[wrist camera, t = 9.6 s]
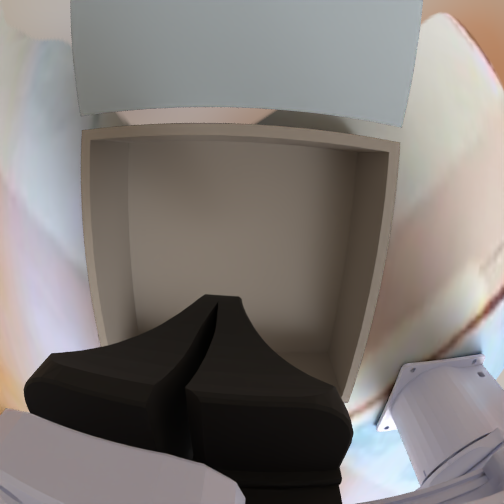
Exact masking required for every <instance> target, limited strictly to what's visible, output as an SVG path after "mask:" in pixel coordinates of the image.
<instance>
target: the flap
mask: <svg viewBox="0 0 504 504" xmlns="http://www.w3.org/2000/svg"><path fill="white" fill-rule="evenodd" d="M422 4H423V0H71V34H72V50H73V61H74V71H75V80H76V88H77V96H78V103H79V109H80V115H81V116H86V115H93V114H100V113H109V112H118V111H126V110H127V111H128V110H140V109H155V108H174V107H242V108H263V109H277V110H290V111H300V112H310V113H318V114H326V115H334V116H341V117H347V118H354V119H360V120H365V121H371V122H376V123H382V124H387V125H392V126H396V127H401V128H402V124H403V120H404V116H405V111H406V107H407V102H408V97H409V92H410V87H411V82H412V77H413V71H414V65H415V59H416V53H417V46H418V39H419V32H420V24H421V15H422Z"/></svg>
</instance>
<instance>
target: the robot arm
mask: <svg viewBox="0 0 504 504" xmlns="http://www.w3.org/2000/svg"><path fill="white" fill-rule="evenodd" d="M484 360H485V355H484V354H477V355H471V356H464V357H457V358H450V359H443V360H434V361H426V362H416V363H407V364H405V365H403V366H402V368H401V370H400V372H399V375H398V378H397V380H396V383H395V385H394V388H393V390H392V392H391V395H390V397H389V399H388V402H387V404H386V406H385V409H384V411H383V413H382V415H381V417H380V419H379V422H378V424H377V426H376V430H377V431H378V432H382V431H389V430H395V429H397V430H398V432H399V435H400V437H401V439H402V442H403V444H404V446H405V449H406V451H407V454H408V456H409V459H410V461H411V464H412V466H413V469H414V471H415V474H416V476H417V479H418V481H419V484H420V488H418V489H417V490H415V491H414V492H410V493H406V494H402V495H398V496H394V497H389V498H385V499H380V500H375V501H369V502H364V503H357V504H504V390H503V389H502V387H501V386H500V385H499V384H498V383H497V381H496V380H495V379H494V378H493V377H492V375H491V374H490V373H489V372H488V371H487V370H486V368H485V367H484V366H483V365H482V364H483V362H484ZM412 368H413V369H412ZM411 369H412V370H411ZM24 397H25V402H26V404H27V407H28V409H29V411H30V413H28V412H23V411H19V410H14V409H8V408H6V409H5V410H4V411H3V413H2V414H1V415H0V504H342V500H341V495H340V489H339V484H340V483H341V481H342V477H341V472H340V465H341V463H342V461H343V459H344V457H345V455H346V453H347V451H348V449H349V446H350V444H351V441H352V437H353V428H352V424H351V420H350V417H349V414H348V411H347V409H346V407H345V405H344V403H343V401H342V399H341V397H340V395H339V393H338V391H337V389H336V387H335V386H333V385H331V384H328V383H326V382H324V381H321V380H319V379H317V378H314V377H312V376H310V375H308V374H306V373H305V372H303V371H301V370H299V369H298V368H296V367H294V366H293V365H291V364H290V363H288V362H287V361H286V360H284V359H283V358H282V357H281V356H279V355H278V354H277V353H276V352H274V351H273V350H272V349H271V348H270V347H269V346H268V344H267V343H266V342H265V341H264V340H263V339H262V337H261V336H260V335H259V333H258V332H257V331H256V329H255V328H254V326H253V325H252V323H251V321H250V319H249V318H248V316H247V314H246V312H245V309H244V307H243V304H242V299H241V298H240V297H239V296H225V295H211V294H204V295H203V296H202V297H200V298H199V299H198V300H196V301H195V302H194V303H192V304H191V305H190V306H188V307H187V308H186V309H184V310H183V311H181V312H180V313H179V314H177V315H175V316H174V317H172V318H171V319H169V320H167V321H166V322H164V323H163V324H161V325H159V326H157V327H155V328H153V329H151V330H149V331H147V332H145V333H143V334H140V335H138V336H135V337H132V338H130V339H127V340H124V341H121V342H118V343H115V344H111V345H107V346H103V347H98V348H94V349H88V350H82V351H73V352H63V353H51V354H50V356H49V357H48V358H47V359H46V360H45V361H44V362H43V363H42V364H41V366H40V367H39V368H38V369H37V370H36V371H35V372H34V374H33V375H32V376H31V377H30V378H29V379H28V381H27V382H26V384H25V387H24Z"/></svg>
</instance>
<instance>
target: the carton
mask: <svg viewBox="0 0 504 504" xmlns="http://www.w3.org/2000/svg"><path fill="white" fill-rule="evenodd" d="M399 152H400V143H399V142H394V141H389V140H384V139H378V138H372V137H366V136H360V135H354V134H347V133H340V132H332V131H324V130H316V129H307V128H296V127H285V126H272V125H256V124H232V123H231V124H230V123H174V124H173V123H171V124H148V125H131V126H118V127H107V128H98V129H89V130H82V141H81V199H82V219H83V233H84V244H85V254H86V263H87V271H88V278H89V285H90V292H91V298H92V304H93V310H94V315H95V321H96V326H97V331H98V336H99V340H100V345H101V347H103V346H107V345H111V344H115V343H118V342H121V341H124V340H127V339H130V338H132V337H135V336H138V335H140V334H143V333H145V332H147V331H149V330H151V329H153V328H155V327H157V326H159V325H161V324H163V323H164V322H166V321H167V320H169V319H171V318H172V317H174V316H175V315H177V314H179V313H180V312H181V311H183V310H184V309H186V308H187V307H188V306H190V305H191V304H192V303H194V302H195V301H196V300H198V299H199V298H200V297H202V296H203V295H204V294H211V295H225V296H239V297H240V298H241V299H242V304H243V307H244V309H245V312H246V314H247V316H248V318H249V319H250V321H251V323H252V325H253V326H254V328H255V329H256V331H257V332H258V333H259V335H260V336H261V337H262V339H263V340H264V341H265V342H266V343H267V344H268V346H269V347H270V348H271V349H272V350H273V351H274V352H276V353H277V354H278V355H279V356H281V357H282V358H283V359H284V360H286V361H287V362H288V363H290V364H291V365H293V366H294V367H296V368H298V369H299V370H301V371H303V372H305V373H306V374H308V375H310V376H312V377H314V378H317V379H319V380H321V381H324V382H326V383H328V384H331V385H333V386H335V387H336V389H337V391H338V393H339V395H340V397H341V399H342V401H343V403H348V402H349V399H350V396H351V393H352V390H353V387H354V384H355V381H356V377H357V374H358V371H359V368H360V364H361V361H362V358H363V354H364V351H365V347H366V344H367V340H368V336H369V333H370V329H371V325H372V321H373V317H374V313H375V309H376V304H377V300H378V296H379V291H380V286H381V282H382V277H383V272H384V267H385V261H386V256H387V250H388V244H389V238H390V232H391V225H392V218H393V211H394V203H395V195H396V186H397V176H398V165H399Z"/></svg>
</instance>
